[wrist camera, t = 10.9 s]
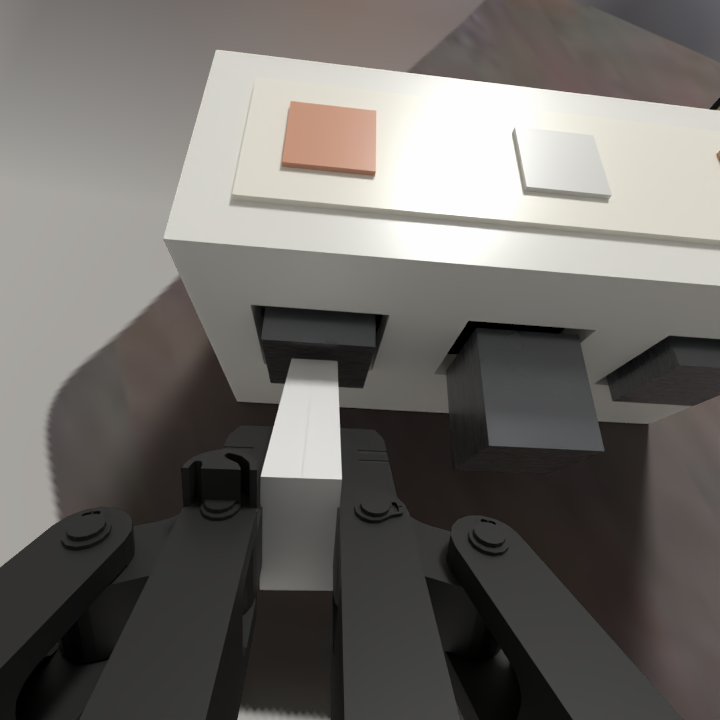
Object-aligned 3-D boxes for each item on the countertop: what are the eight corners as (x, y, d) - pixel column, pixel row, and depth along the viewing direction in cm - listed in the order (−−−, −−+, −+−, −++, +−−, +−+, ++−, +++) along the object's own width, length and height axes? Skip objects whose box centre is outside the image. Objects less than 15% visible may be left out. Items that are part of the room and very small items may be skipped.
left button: (363, 388, 17) (375, 347, 14) (270, 383, 17) (261, 339, 13) (364, 302, 19) (376, 247, 15) (281, 296, 18) (274, 239, 15)
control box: (649, 424, 23) (955, 297, 12) (237, 401, 22) (158, 228, 10) (614, 300, 27) (829, 113, 16) (257, 271, 25) (214, 37, 14)
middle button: (546, 473, 16) (604, 451, 13) (452, 469, 16) (489, 445, 13) (530, 376, 18) (578, 335, 15) (446, 370, 18) (476, 327, 14)
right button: (692, 405, 18) (776, 371, 15) (612, 401, 18) (679, 365, 15) (665, 323, 20) (735, 277, 17) (592, 318, 20) (647, 269, 16)
